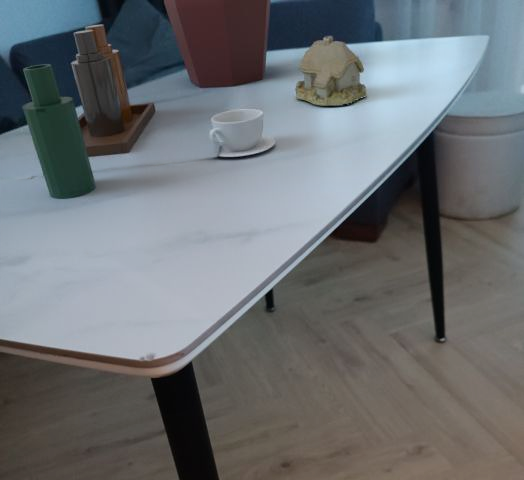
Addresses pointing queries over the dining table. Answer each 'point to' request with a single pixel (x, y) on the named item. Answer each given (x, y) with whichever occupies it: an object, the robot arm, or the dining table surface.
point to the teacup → (239, 133)
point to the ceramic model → (330, 74)
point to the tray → (122, 140)
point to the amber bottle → (114, 69)
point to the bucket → (221, 39)
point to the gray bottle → (97, 87)
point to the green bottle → (57, 136)
